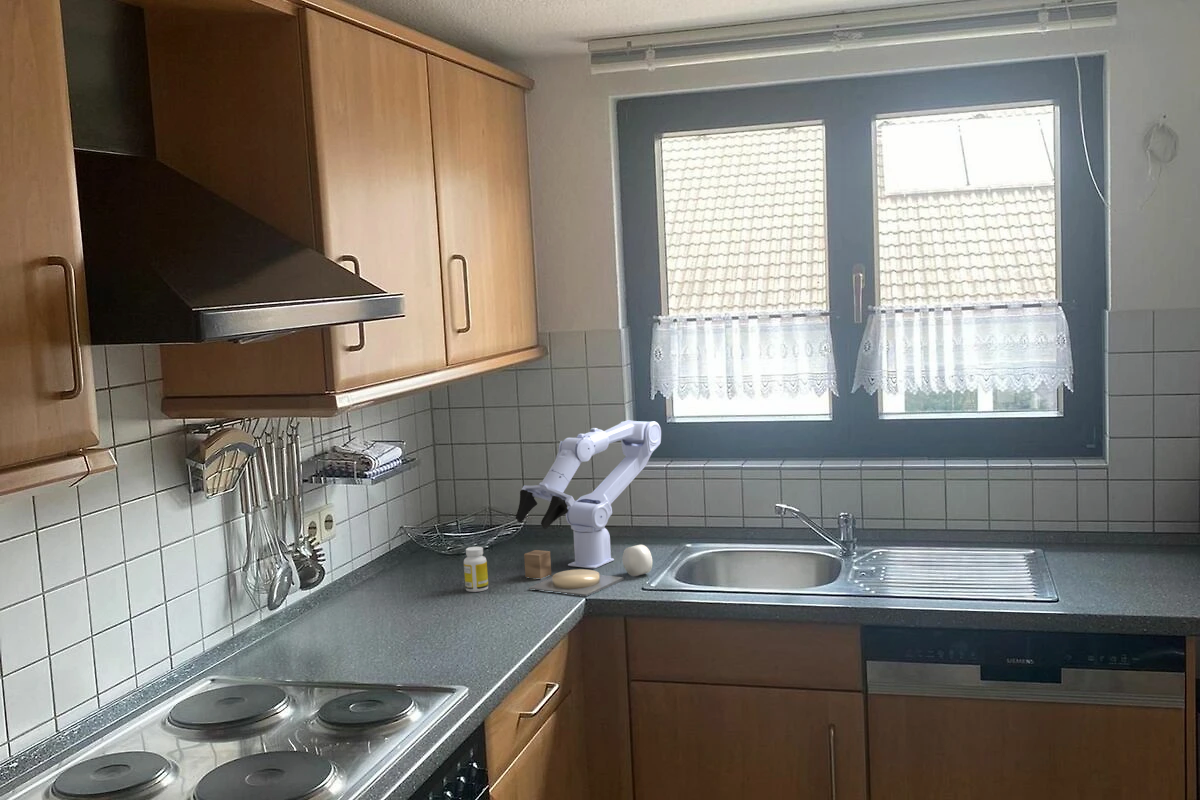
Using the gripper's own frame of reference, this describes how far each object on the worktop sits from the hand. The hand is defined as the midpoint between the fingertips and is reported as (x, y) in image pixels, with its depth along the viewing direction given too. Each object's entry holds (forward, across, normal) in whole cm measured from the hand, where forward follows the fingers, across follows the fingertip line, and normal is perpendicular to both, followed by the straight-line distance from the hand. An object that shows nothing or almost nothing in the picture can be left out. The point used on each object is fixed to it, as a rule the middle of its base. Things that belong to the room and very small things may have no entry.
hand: (530, 523), depth 278 cm
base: (+7, +13, +11) cm, 18 cm away
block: (+6, 0, +14) cm, 15 cm away
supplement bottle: (+18, -7, +4) cm, 20 cm away
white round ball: (-5, +20, +16) cm, 26 cm away
